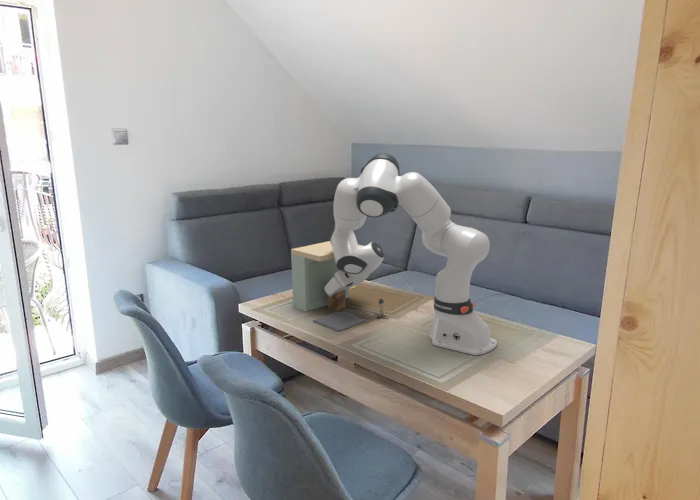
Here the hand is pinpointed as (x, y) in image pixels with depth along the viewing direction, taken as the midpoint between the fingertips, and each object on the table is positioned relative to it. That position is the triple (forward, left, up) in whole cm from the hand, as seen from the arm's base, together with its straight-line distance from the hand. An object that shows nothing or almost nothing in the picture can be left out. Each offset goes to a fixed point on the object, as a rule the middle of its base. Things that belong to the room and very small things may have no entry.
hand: (335, 293), depth 199 cm
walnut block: (-1, 0, -6) cm, 6 cm away
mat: (-13, +10, -6) cm, 17 cm away
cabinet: (+4, 0, -6) cm, 7 cm away
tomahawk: (-16, -12, -7) cm, 21 cm away
